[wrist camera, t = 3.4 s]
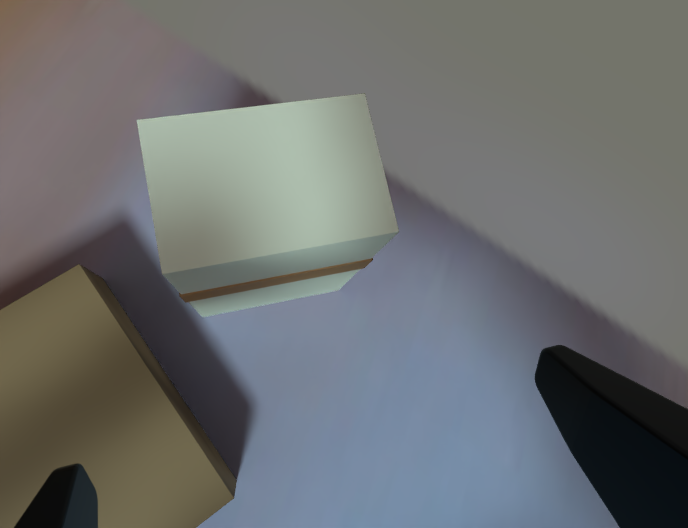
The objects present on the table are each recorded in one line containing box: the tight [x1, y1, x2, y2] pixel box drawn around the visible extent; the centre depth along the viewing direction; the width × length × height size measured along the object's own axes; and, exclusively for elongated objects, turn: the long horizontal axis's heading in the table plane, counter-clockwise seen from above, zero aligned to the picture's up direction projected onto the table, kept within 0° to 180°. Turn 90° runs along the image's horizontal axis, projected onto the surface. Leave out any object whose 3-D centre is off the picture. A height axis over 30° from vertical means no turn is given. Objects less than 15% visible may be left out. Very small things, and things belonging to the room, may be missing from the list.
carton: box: [137, 93, 399, 317], centre depth 18 cm, size 4×6×10 cm
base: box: [0, 264, 237, 528], centre depth 18 cm, size 10×10×3 cm
